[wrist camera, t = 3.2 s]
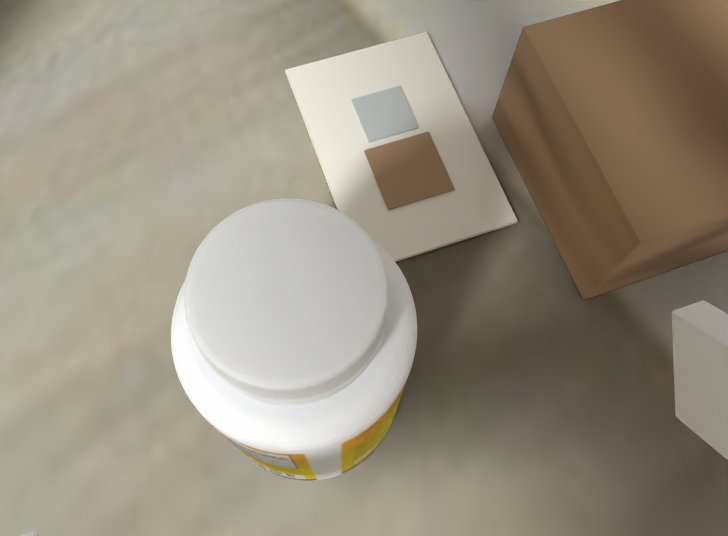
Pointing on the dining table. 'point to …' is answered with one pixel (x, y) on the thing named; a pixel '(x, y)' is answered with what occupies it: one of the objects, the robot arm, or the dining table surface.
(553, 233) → the base block
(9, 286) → the dining table surface
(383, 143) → the page
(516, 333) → the dining table surface
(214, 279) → the supplement bottle
